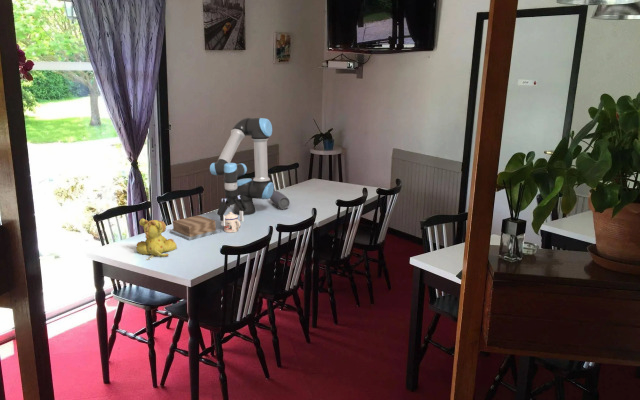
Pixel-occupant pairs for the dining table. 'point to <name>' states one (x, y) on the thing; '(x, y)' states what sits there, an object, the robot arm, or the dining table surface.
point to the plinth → (194, 227)
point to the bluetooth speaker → (280, 200)
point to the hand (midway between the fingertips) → (232, 223)
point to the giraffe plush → (154, 239)
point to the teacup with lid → (231, 223)
